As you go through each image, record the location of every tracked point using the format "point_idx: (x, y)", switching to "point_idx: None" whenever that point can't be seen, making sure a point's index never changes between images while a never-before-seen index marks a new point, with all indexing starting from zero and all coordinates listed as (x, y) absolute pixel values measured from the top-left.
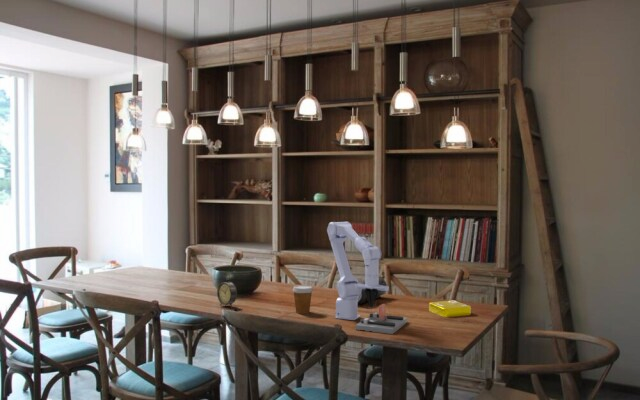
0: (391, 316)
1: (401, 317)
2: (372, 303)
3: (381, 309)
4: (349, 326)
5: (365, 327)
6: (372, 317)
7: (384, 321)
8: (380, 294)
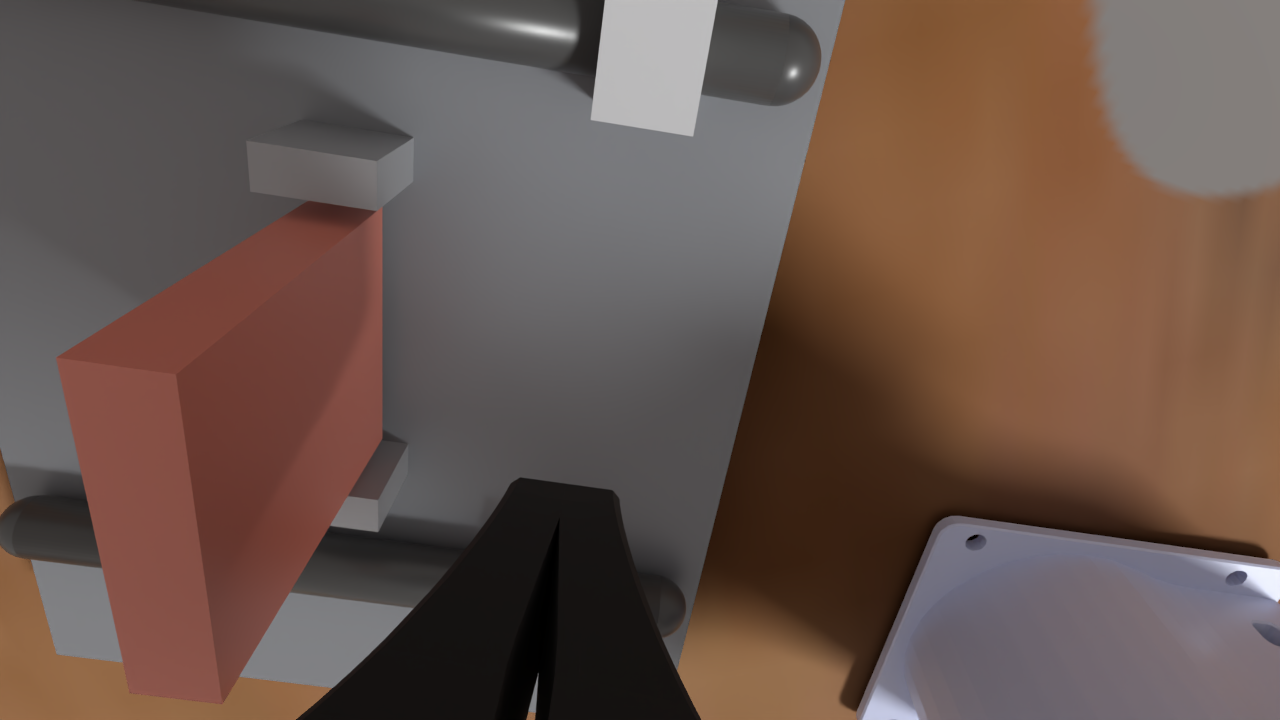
0: None
1: (17, 521)
2: (478, 538)
3: (145, 304)
4: (1032, 63)
5: None
6: None
7: None
8: None
